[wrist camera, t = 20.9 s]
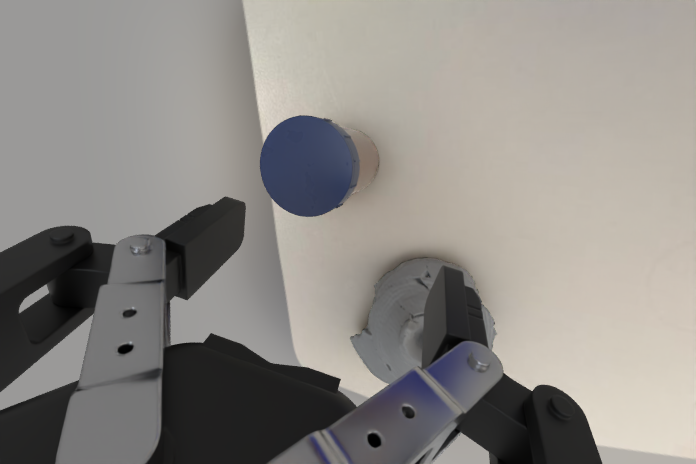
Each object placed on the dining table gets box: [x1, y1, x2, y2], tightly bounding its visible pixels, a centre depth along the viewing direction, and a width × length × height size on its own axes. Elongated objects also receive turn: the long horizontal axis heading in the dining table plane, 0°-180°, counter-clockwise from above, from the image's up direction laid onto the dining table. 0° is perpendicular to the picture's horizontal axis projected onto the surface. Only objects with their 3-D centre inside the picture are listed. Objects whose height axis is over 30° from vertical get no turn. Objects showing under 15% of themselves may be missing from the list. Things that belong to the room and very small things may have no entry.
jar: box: [341, 127, 379, 196], centre depth 26 cm, size 6×6×10 cm
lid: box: [260, 115, 360, 217], centre depth 22 cm, size 6×6×2 cm
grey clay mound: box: [350, 258, 497, 384], centre depth 28 cm, size 12×12×11 cm
